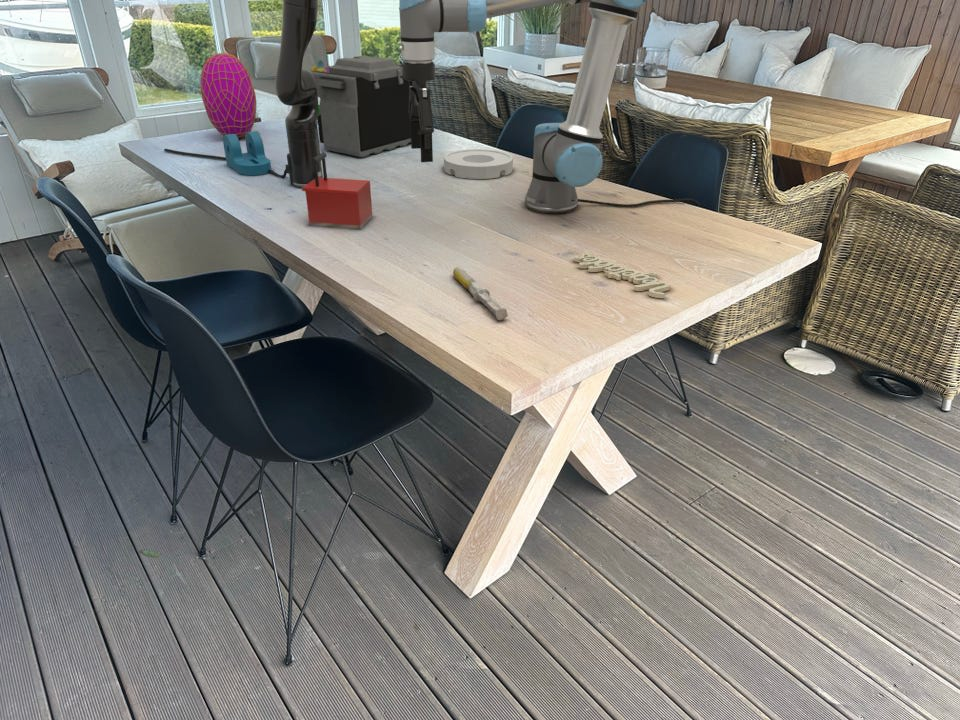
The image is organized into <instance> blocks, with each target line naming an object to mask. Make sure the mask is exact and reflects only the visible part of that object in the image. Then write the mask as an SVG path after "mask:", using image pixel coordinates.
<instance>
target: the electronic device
mask: <svg viewBox="0 0 960 720" xmlns="http://www.w3.org/2000/svg"><path fill="white" fill-rule="evenodd" d="M330 66H331V67H329V73H328V72H321V71H313V72H311V71H310V73H311V74H312V75H313V77H314V79H315V81H316V85H317V92H318V96H319V97H318V99H319V105H320V111H321V115H319V116H318V119H317V127H318V137H319V144H323V146H324V149H325V150H327V151H330V152H335V153H340V154H344V155H348V156H353V157H357V158H362V159H363V158H366V157H367V158H368V157H369V155H371V154H375V155H377V154H381V153H382V152H383V151H391V150H395V149H396V148H397V147H405V146H407V145H408V144H411V128H410V122H411V121H410V117H409V115H408V113H409V81H407V80H404V79H403V73H402V64H401V65H400V64H396V62H395V60H394V59H393V58H385V57H377V56H367V55H356V56H353V57H350V58H349V57H343V58H342V57H341V58H337V59H336V60H335V63H334V64H333V65H330ZM418 121H419V120H418Z"/></svg>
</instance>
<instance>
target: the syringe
mask: <svg viewBox="0 0 960 720" xmlns="http://www.w3.org/2000/svg"><path fill="white" fill-rule="evenodd" d="M452 274H453V277H454V279H455V280H457V281H458V282H459V283H460V285H462V287H464V289H466V290H467V291H468V293H470V295H471V296H472V298H473V300H474V302H477V303H478V302H480V303H482V304H483V305H484V306H485V307H486V308H487V309H488V310H489V311H490V312H491V313H492V314H493V315H494V316H495V317H496V320H497V321H503V320H504V319H506V318H507V317H509V314H508V310H507V308H506V307H502V306H501V305H500V303H498V302H497V301H496V300H494V299H493V298H492V297H491V296H490V295H491V293H490V290H488V289H486V288H483V287H482V286H481V285H480V284H479V283H478V282H477V281H476V280H474V278H473V277H471V275H469V274H468V273H467V272H466V270H465V269H464V268H463V267H462V266H456V267H454V268H453V271H452Z"/></svg>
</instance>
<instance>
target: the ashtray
mask: <svg viewBox="0 0 960 720" xmlns="http://www.w3.org/2000/svg"><path fill="white" fill-rule="evenodd" d="M513 168H514V157H513V156H512V155H511V154H510V153H508V152H505V151H500V150H496V149H489V148H488V149H487V148H486V149H485V148H468V149H467V148H466V149H460V150H454V151H451V152H448V153H446V154H445V155H443V171H444V173H446V174H448V175H453V176H454V177H456V178H461V179H468V180H469V179H470V180H488V179H489V180H490V179H497V178H498V179H499V178H500V177H501V176H505V177H506V176H508V175H510V174H511V173H512V172H513V171H514V170H513Z"/></svg>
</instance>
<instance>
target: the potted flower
mask: <svg viewBox="0 0 960 720" xmlns="http://www.w3.org/2000/svg"><path fill="white" fill-rule="evenodd" d="M331 66H332V65H325V64H324V61H323V60H322V59H319V60H317V62H316V66H315V65H314V66H312V67H311V71H310V73H311V72H313V71H321V72H328V73H329V67H331ZM318 98H319V96H318ZM318 108H319V115H321V111H320V104H318Z"/></svg>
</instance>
